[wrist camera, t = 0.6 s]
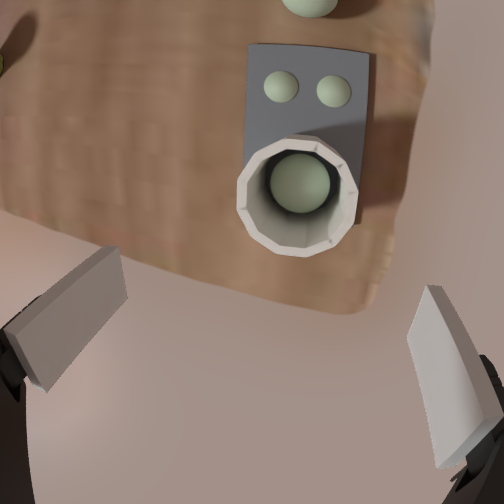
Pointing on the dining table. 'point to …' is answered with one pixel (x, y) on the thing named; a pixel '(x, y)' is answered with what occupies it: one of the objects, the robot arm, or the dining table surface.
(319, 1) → the sage ball
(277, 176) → the sage ball
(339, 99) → the tube stand
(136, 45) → the dining table surface
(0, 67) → the plant pot
